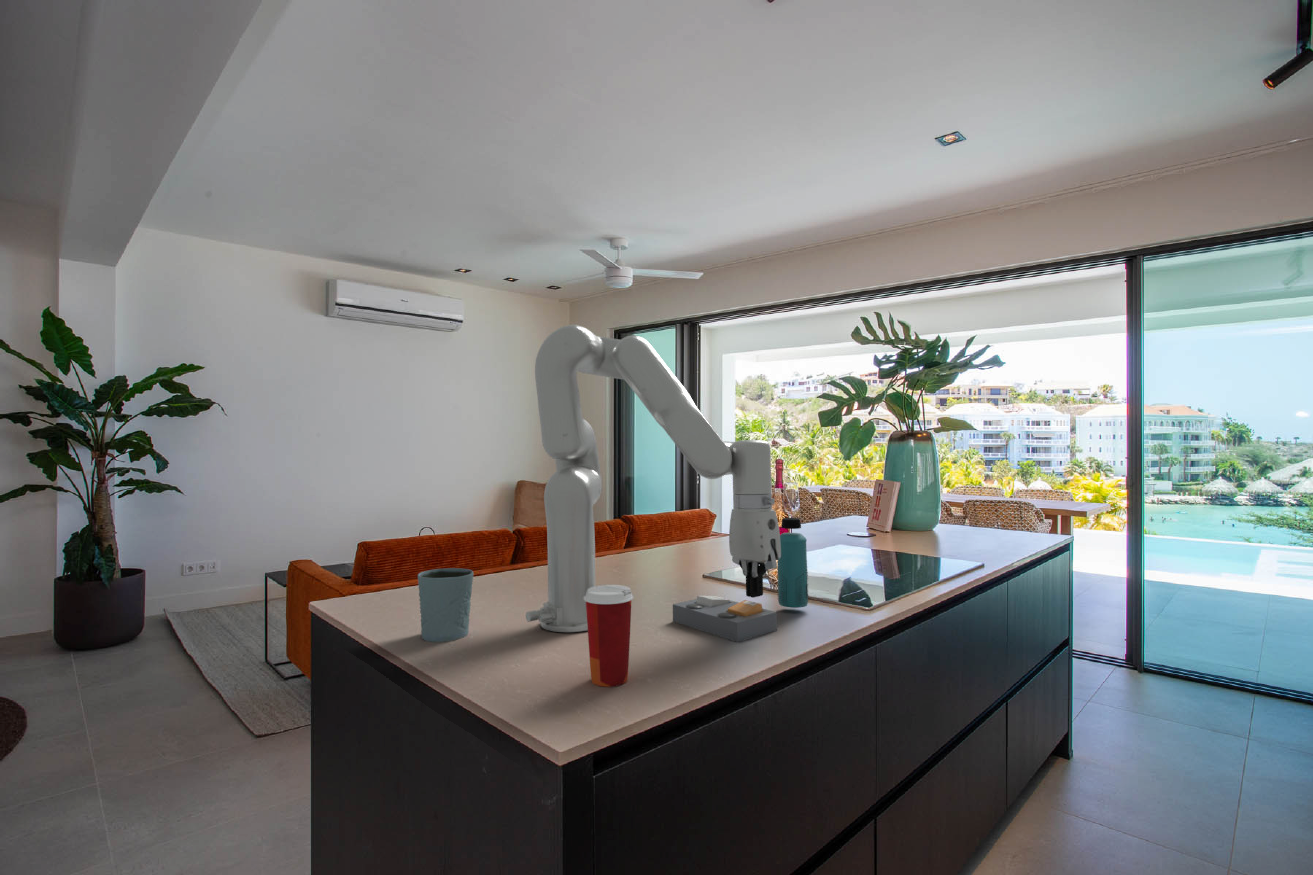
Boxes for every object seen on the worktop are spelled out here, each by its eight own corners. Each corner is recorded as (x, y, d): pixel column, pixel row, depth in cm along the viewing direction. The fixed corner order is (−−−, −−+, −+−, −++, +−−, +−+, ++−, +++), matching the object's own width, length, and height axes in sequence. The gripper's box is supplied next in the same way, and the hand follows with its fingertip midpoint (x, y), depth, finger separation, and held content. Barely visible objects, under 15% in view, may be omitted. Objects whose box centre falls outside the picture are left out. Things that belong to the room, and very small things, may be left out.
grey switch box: (737, 641, 118) (737, 621, 118) (672, 621, 132) (672, 603, 132) (776, 630, 125) (776, 611, 125) (711, 611, 139) (711, 594, 139)
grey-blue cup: (408, 635, 124) (408, 573, 124) (456, 624, 131) (456, 565, 131) (435, 646, 117) (434, 580, 117) (484, 634, 124) (483, 571, 125)
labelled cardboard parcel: (745, 623, 122) (744, 612, 122) (728, 618, 126) (727, 607, 126) (762, 613, 126) (761, 603, 125) (746, 609, 129) (744, 599, 129)
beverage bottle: (811, 614, 135) (810, 519, 135) (779, 615, 135) (778, 519, 136) (805, 606, 142) (803, 515, 142) (774, 607, 142) (773, 516, 142)
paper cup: (642, 675, 101) (641, 586, 101) (619, 692, 94) (618, 597, 95) (599, 668, 105) (598, 582, 105) (574, 684, 98) (573, 592, 98)
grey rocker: (711, 609, 129) (712, 598, 129) (696, 605, 133) (697, 595, 133) (728, 609, 132) (729, 599, 133) (713, 605, 136) (714, 595, 136)
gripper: (794, 503, 124) (797, 599, 124) (737, 499, 135) (740, 586, 135) (768, 506, 119) (771, 606, 119) (712, 501, 131) (714, 592, 130)
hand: (754, 595), depth 127 cm, fingers closed
